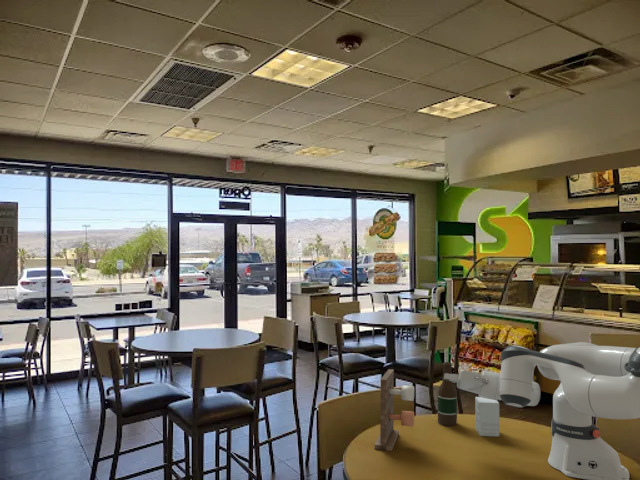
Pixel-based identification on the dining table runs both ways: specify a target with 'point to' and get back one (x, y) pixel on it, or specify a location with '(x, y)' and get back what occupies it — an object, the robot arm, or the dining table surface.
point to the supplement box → (487, 416)
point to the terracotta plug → (404, 418)
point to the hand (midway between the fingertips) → (444, 376)
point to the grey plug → (404, 392)
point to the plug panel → (387, 414)
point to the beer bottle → (447, 400)
